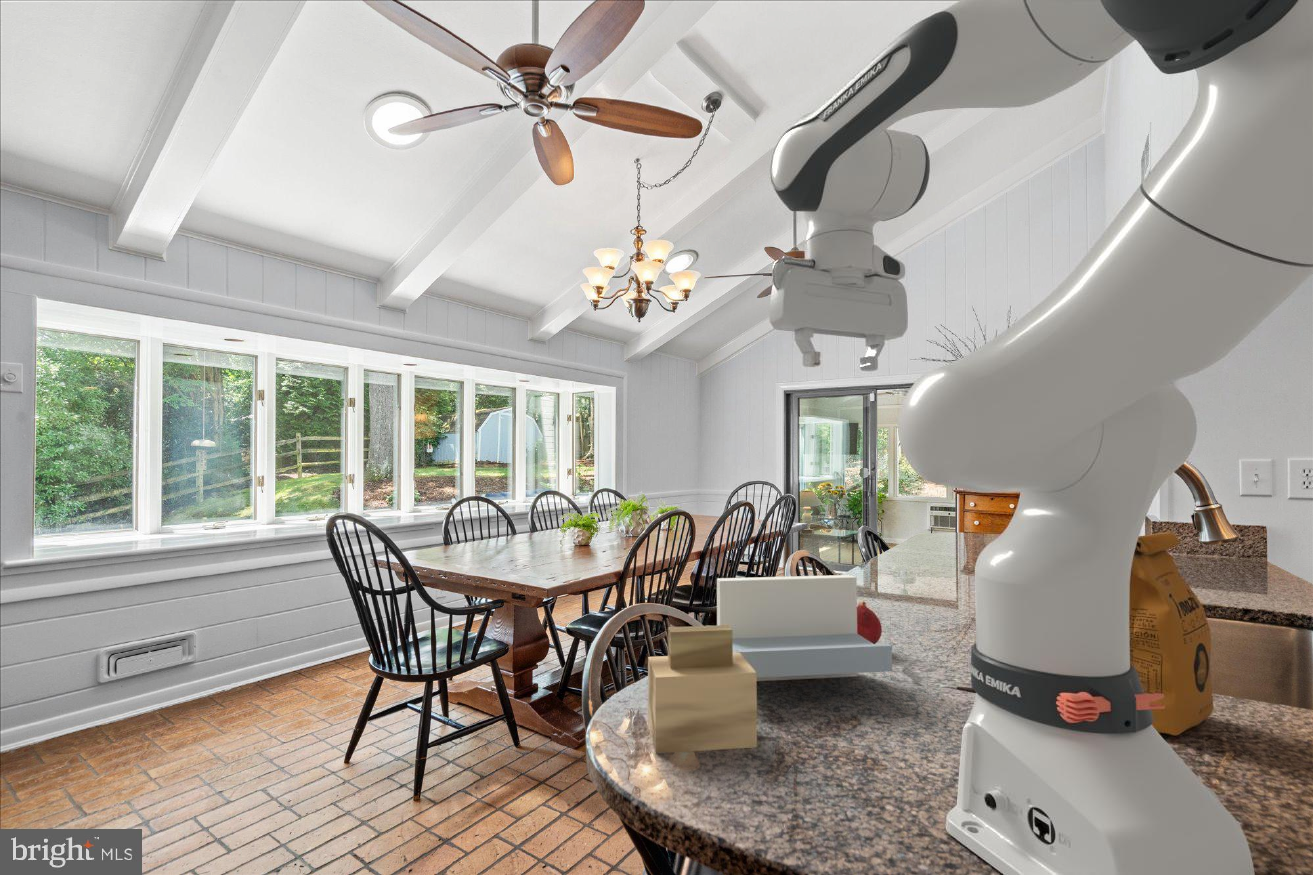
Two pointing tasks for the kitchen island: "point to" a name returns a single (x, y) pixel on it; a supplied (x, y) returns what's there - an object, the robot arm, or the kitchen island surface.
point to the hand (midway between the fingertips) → (841, 368)
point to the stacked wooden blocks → (701, 693)
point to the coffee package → (1168, 637)
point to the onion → (868, 623)
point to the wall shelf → (798, 627)
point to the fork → (924, 682)
